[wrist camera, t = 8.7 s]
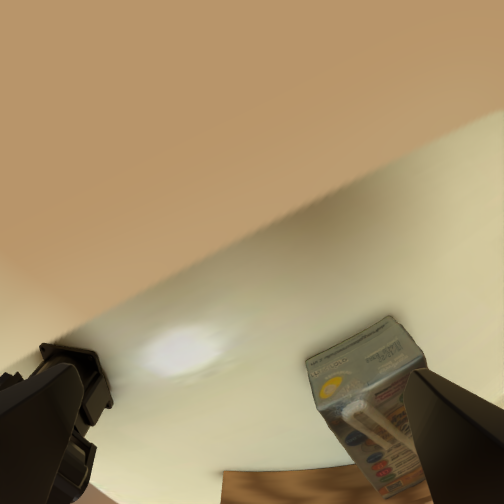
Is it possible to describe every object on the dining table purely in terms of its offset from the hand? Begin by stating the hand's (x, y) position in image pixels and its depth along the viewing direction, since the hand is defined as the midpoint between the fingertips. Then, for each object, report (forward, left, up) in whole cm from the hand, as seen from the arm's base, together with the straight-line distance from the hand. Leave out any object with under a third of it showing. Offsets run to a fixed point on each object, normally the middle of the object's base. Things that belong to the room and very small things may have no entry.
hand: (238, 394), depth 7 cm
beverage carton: (+12, -15, -14) cm, 23 cm away
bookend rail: (+10, -26, -13) cm, 30 cm away
